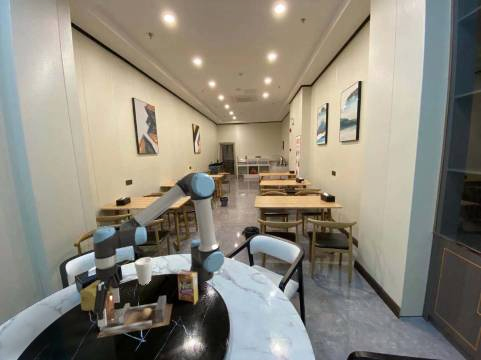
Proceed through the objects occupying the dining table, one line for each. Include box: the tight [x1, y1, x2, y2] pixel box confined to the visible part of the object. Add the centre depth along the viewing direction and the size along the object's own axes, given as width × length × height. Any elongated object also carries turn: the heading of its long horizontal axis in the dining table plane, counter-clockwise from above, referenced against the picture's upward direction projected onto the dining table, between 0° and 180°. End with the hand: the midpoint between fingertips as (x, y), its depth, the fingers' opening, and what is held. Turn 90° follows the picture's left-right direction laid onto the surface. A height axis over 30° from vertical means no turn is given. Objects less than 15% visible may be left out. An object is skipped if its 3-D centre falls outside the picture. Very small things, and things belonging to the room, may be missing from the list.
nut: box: [142, 308, 152, 319], centre depth 88 cm, size 4×4×4 cm
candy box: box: [177, 269, 199, 306], centre depth 99 cm, size 9×4×15 cm, turn 73°
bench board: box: [96, 295, 173, 339], centre depth 87 cm, size 27×13×8 cm, turn 103°
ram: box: [99, 293, 131, 331], centre depth 85 cm, size 9×8×12 cm
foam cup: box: [134, 256, 153, 286], centre depth 117 cm, size 10×9×13 cm
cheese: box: [79, 279, 114, 312], centre depth 99 cm, size 10×11×10 cm
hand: (109, 313), depth 84 cm, fingers open, 13 cm apart
